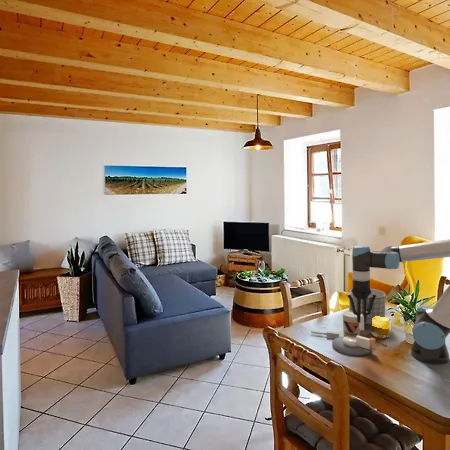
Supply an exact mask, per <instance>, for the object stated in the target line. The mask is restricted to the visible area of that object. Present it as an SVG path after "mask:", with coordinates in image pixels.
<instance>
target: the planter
mask: <svg viewBox="0 0 450 450" xmlns="http://www.w3.org/2000/svg"><path fill="white" fill-rule="evenodd" d="M370 290H371V292H372V293H374V294H375V295H376V297H375V299H374V302H373V306H372V310H371V314H370V315H367V316H366V323H364V327H372V326H371V325H372V318H373V317H375V316H380V317H385V318H386V299H387V298H386V297H387V295H386V293H385V292H384V291H382V290H379V289H375V288H370ZM351 292H352V289H349V293H351ZM369 298H370V295H369V296H368V298H367V302H366V310H367V306H368V302H369ZM352 299H353V302H354V305H355V309H356V312H357V305H356V297H355V296H354V295H353V297H352ZM348 300H349V299H348ZM348 303H349V305H348V312H352V308H351V304H350V300H349V302H348ZM361 315H363V314H362V299H361Z"/></svg>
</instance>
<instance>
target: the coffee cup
mask: <svg viewBox="0 0 450 450" xmlns="http://www.w3.org/2000/svg"><path fill="white" fill-rule="evenodd" d="M342 331H343V337H347V336H351V337H356V336H357V335H358V336H361V335H360V334H361V330H360V329H359V323H358V322H357V315H354V313H353V312H349V311H344V312H343V313H342Z"/></svg>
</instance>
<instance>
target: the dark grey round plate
mask: <svg viewBox="0 0 450 450" xmlns="http://www.w3.org/2000/svg"><path fill="white" fill-rule="evenodd" d="M343 338H344V336H339V337H338V338H336V339H334V338H333V340H332V343H331V345H332V348H333V349H334V350H335V351H337V352H338V353H341V354H343V355H347V356H355V357H359V356H360V357H362V356H367V355H369V354H370V353H372V350H370V349H366V348H363V347H360V346H358V347H350V346H347V345H345V344H343ZM364 349H365V350H368V351H369V352H367V351H364Z"/></svg>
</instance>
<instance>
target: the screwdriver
mask: <svg viewBox="0 0 450 450" xmlns="http://www.w3.org/2000/svg"><path fill="white" fill-rule="evenodd" d="M310 333H311V334H317V335H323V336H326V338H327V339H333V340H334V339H336V338H338V337H340V332H339V331H334V330H326V332H323V331H322V332H321V331H312V330H311V332H310Z"/></svg>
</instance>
